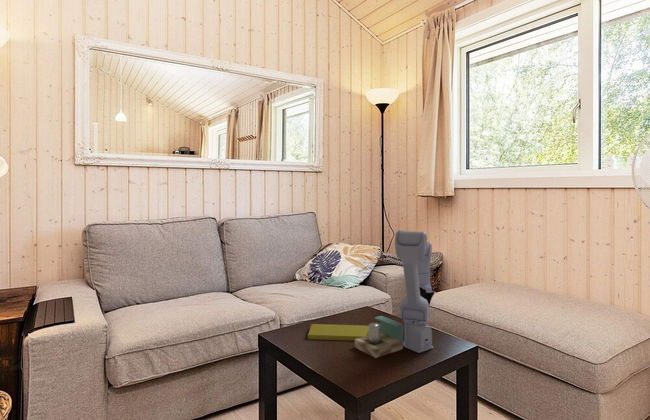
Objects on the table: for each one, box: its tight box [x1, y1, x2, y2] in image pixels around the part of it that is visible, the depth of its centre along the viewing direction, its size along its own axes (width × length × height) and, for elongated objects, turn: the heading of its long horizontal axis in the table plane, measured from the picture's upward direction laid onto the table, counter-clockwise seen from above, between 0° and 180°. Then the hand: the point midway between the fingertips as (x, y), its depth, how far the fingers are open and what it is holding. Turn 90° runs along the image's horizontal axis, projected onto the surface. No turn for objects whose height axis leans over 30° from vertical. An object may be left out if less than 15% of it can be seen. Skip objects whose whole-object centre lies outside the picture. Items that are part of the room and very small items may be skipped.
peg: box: [368, 322, 380, 345], centre depth 140 cm, size 4×4×9 cm
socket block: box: [354, 332, 404, 359], centre depth 142 cm, size 11×13×3 cm
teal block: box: [374, 315, 404, 342], centre depth 144 cm, size 11×4×6 cm, turn 35°
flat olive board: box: [307, 323, 369, 342], centre depth 156 cm, size 12×2×24 cm
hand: (422, 306), depth 158 cm, fingers open, 7 cm apart
